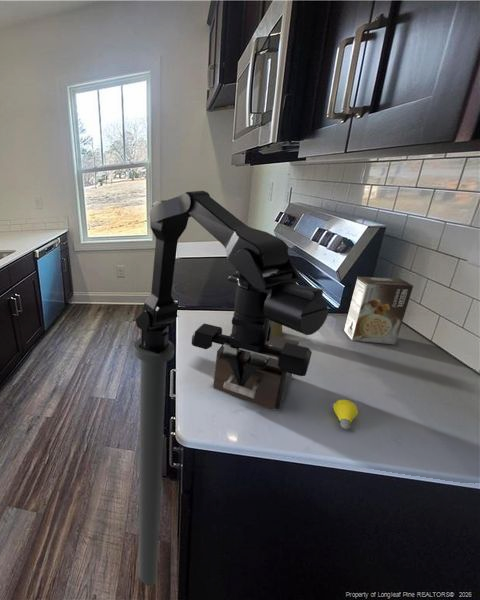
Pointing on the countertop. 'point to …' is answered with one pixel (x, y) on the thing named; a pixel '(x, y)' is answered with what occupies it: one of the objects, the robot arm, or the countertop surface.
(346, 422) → the light bulb
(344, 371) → the countertop surface
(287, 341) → the cabinet
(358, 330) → the coffee box
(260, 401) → the drawer
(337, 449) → the countertop surface
